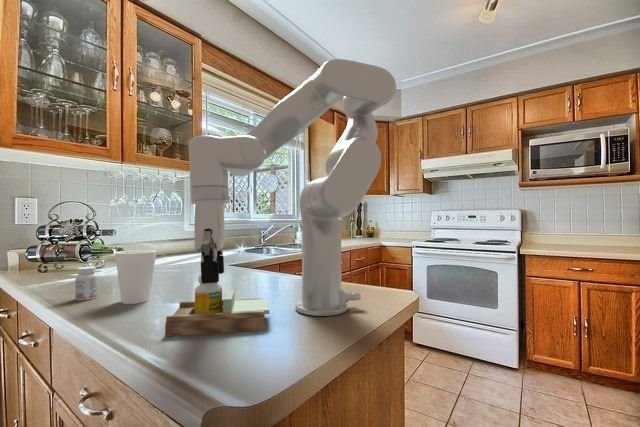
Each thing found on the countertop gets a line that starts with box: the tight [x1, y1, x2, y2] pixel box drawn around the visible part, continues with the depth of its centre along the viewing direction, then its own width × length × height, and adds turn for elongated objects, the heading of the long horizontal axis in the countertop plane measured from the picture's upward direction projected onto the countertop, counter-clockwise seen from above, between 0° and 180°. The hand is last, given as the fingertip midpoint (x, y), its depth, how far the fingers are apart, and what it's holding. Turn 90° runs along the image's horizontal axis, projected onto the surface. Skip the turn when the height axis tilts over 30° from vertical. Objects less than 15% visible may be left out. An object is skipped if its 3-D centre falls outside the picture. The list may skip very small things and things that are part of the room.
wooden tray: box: [164, 297, 265, 337], centre depth 65 cm, size 18×12×3 cm, turn 102°
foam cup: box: [114, 249, 157, 305], centre depth 83 cm, size 10×9×13 cm
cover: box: [222, 289, 270, 315], centre depth 66 cm, size 9×9×3 cm
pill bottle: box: [74, 266, 98, 301], centre depth 85 cm, size 5×5×8 cm
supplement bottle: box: [194, 274, 223, 314], centre depth 65 cm, size 5×5×10 cm
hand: (213, 277), depth 65 cm, fingers open, 9 cm apart
